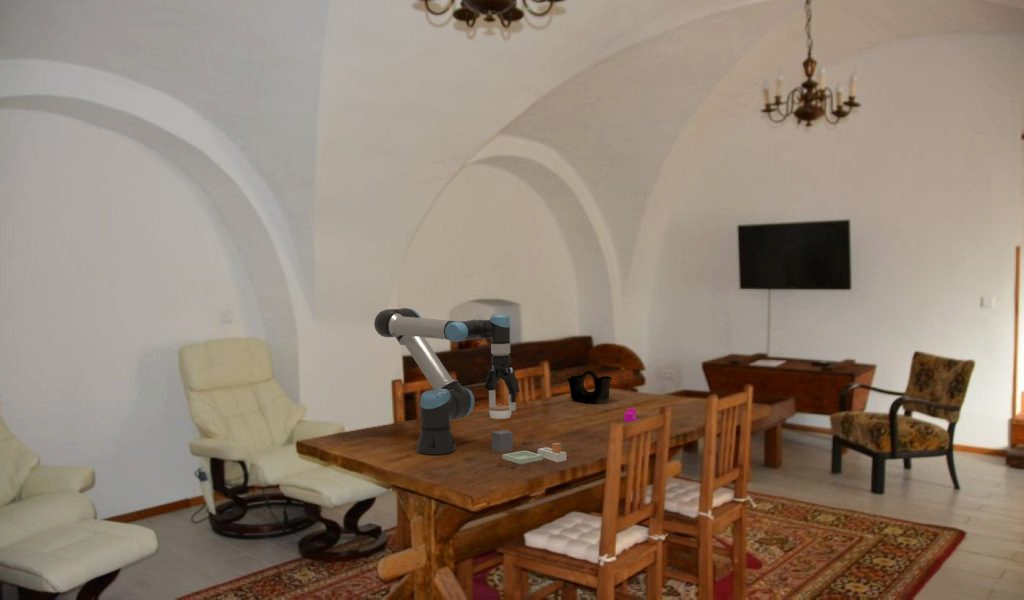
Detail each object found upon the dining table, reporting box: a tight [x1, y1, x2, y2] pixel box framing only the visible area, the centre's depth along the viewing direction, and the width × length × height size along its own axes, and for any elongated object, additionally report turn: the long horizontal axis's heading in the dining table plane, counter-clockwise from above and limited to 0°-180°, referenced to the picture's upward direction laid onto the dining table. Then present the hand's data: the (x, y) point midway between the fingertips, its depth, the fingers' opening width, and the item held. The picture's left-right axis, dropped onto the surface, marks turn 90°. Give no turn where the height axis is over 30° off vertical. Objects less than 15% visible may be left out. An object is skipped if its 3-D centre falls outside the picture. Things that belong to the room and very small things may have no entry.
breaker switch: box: [551, 442, 562, 453], centre depth 290 cm, size 2×2×3 cm
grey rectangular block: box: [490, 429, 514, 454], centre depth 305 cm, size 6×6×8 cm
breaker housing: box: [536, 447, 567, 463], centre depth 293 cm, size 4×12×3 cm, turn 36°
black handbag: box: [566, 370, 613, 405], centre depth 405 cm, size 25×11×20 cm, turn 59°
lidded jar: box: [488, 402, 512, 420], centre depth 369 cm, size 11×11×9 cm
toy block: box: [623, 408, 639, 423], centre depth 353 cm, size 15×6×8 cm, turn 166°
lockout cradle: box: [501, 450, 544, 466], centre depth 291 cm, size 11×11×2 cm
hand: (502, 408), depth 305 cm, fingers open, 13 cm apart
